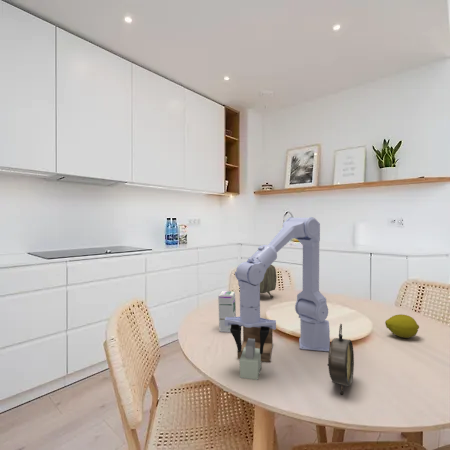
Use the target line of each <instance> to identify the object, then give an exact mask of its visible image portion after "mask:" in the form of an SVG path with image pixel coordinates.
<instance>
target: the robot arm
mask: <svg viewBox="0 0 450 450" xmlns="http://www.w3.org/2000/svg"><path fill="white" fill-rule="evenodd" d="M292 239H295V240H297V241H299V243H300V244H301V245H302V290H301V291H300V292H299V293H297V294H296V300H295V301H296V302H295V304H294V310H295V312H296V314H297V315H298V318H299V320H300V322H299V323H300V337H299V338H298V343H299V349H300V350H307V351H308V350H309V351H317V352H329V348H330V344H331V338H330V337H331V336H330V334H331V333H330V331H331V330H330V323H329V320H327V318H328V316H329V307H328V303H327V298H326V296H325V295H324V294H323V293H321V291H320V241H321V223H320V222H319V221H318V220H317V219H316V218H315V217H312V216H310V217H294V216H293V217H292V216H290V217H288V218H287V219H286V220H285V221H283V223H282V227H281V229H280V230H278V232H277V233H276V235H275V236H274V237H273V238H272V239H271V241H270V242H269V243H268V244H262V245H259V246H258V247H257V251H255V252H254V253H253V254H252V255H251V256H250V257H248V258H247V261H243V262H241V263H240V264H239V265H238V266H237V268H236V271H234V275H235V279H236V280H237V282H238V284H237V285H238V287H239V316H236V317H226V318H225V326H229V325H231V329H230V331H231V332H230V333H231V335H232V336H233V339H234V342H235V345H236V347H237V350H238V352H241V348H242V327H243V326H245V327H249V328H251V327H260V328H261V329H260V354H263V347H264V343H265V340H266V338H267V336H268V334H269V329H270V328H272V330H276V329H277V320H275V319H269V318H263V317H261V293H260V282H262V281H263V279H264V274H265V272H266V270H267V268H268V267H269V266H270V265H273V263H274V262H275V261H276V260H277V259H278V254H277V253H278V252H279V251H280V250H281V249H282V248H284V247H285V246H286V245H287V244H288V243H289V242H290V241H291V240H292Z"/></svg>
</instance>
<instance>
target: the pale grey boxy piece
mask: <svg viewBox="0 0 450 450" xmlns="http://www.w3.org/2000/svg"><path fill="white" fill-rule="evenodd" d="M261 365H262V361H261V354H260V349H258V348H255V339H250V338H248V340H247V343H246V347H244V349H243V352H242V355H241V358H240V359H239V378H240V379H247V380H256V381H257V380H259V376H260V373H261V372H260V371H261V367H262V366H261Z"/></svg>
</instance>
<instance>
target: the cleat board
mask: <svg viewBox="0 0 450 450" xmlns="http://www.w3.org/2000/svg"><path fill="white" fill-rule="evenodd" d="M260 329H261V328H260V327H251V328H249V327H245V326H242V333H243V334H242V337H243V340H242V342H241V344H242V348H241V352H238V349H237V360H240V358H241V355H242V352H243V349H244V347H246V343H247V340H248V338H250V339H255V348H258V349H260ZM273 337H274V336H273V329H272V328H270V329H269V334H268V336H267V338H266V340H265V343H264V347H263V354H261V362H263V363H264V362H266V363H271V357H272V350H273V344H274V343H273V340H274V339H273Z"/></svg>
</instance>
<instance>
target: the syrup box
mask: <svg viewBox="0 0 450 450" xmlns="http://www.w3.org/2000/svg"><path fill="white" fill-rule="evenodd" d="M217 297H218V300H217V301H218V325H219V327H218V330H219V332H222V333H231V331H230V329H231V325H229V326H225V318H226V317H237V312H236V311H237V307H236V292H235V291H234V290H222V291H221V292H220V293H219V294H218V295H217Z"/></svg>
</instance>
